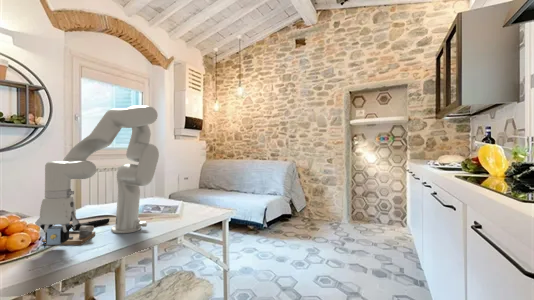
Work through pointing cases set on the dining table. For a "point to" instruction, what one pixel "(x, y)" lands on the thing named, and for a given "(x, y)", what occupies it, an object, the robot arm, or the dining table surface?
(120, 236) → the dining table surface
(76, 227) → the electric trimmer
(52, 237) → the blue grey block
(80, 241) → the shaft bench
